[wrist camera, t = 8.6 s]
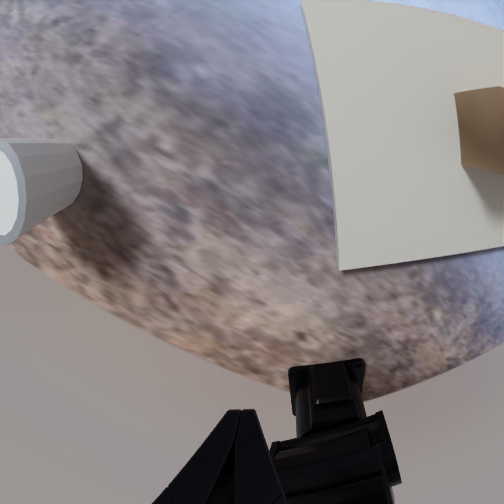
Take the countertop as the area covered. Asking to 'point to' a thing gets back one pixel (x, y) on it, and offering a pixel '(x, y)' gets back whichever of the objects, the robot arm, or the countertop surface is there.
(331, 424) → the robot arm
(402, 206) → the cutting board
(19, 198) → the white tapered cup
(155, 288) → the countertop surface
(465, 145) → the walnut block
